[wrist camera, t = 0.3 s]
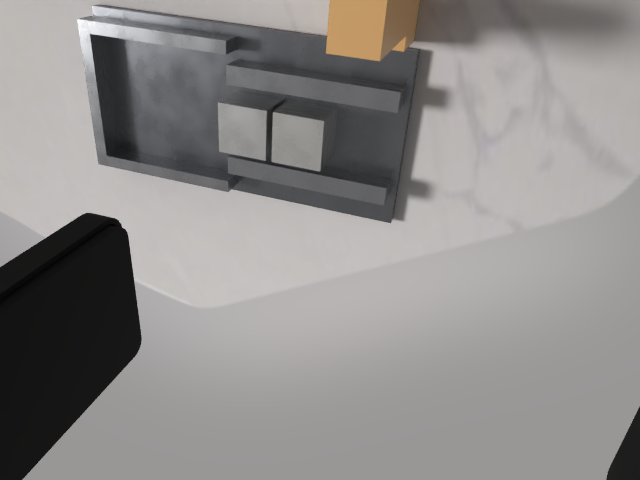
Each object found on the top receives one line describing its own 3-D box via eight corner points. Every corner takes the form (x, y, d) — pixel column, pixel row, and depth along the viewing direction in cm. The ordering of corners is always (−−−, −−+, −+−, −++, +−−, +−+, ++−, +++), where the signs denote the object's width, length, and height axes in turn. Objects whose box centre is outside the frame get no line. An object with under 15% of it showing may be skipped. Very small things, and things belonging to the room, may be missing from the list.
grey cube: (289, 99, 44) (272, 112, 41) (337, 107, 43) (324, 121, 40) (287, 147, 46) (271, 162, 43) (333, 155, 45) (320, 171, 42)
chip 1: (237, 90, 45) (217, 102, 42) (283, 98, 44) (266, 111, 41) (237, 137, 47) (219, 151, 44) (281, 145, 46) (265, 160, 43)
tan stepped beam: (382, -41, 38) (331, -29, 28) (425, -37, 37) (390, -22, 27) (373, 35, 40) (324, 72, 30) (413, 41, 40) (377, 80, 30)
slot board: (98, 4, 46) (75, 8, 44) (419, 49, 40) (413, 57, 37) (118, 160, 53) (99, 171, 51) (392, 218, 47) (385, 234, 45)
